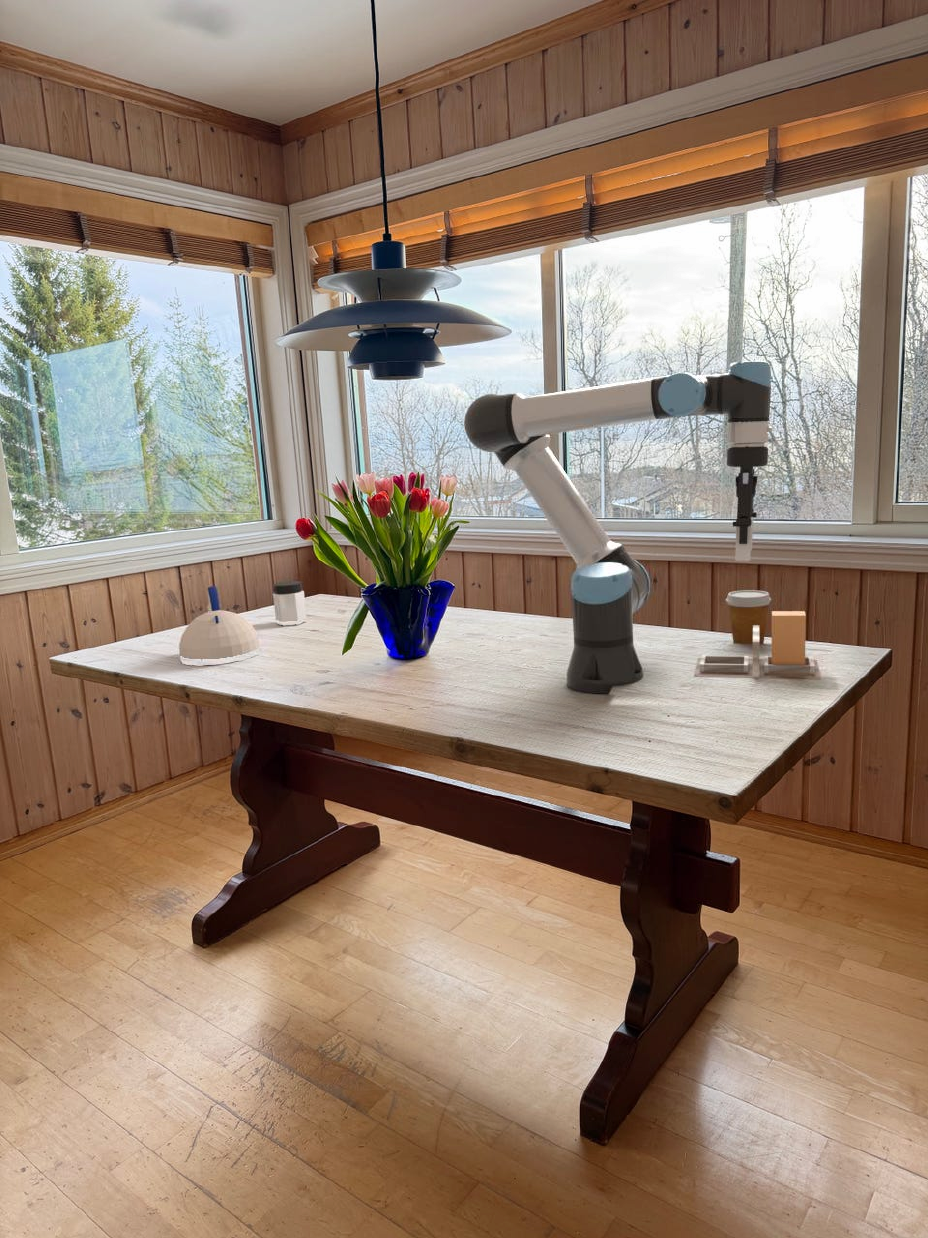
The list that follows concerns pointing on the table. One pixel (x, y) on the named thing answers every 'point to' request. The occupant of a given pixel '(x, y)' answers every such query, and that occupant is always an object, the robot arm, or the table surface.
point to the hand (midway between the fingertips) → (743, 555)
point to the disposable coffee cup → (748, 614)
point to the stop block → (788, 637)
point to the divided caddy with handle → (754, 666)
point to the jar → (289, 601)
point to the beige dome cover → (217, 633)
